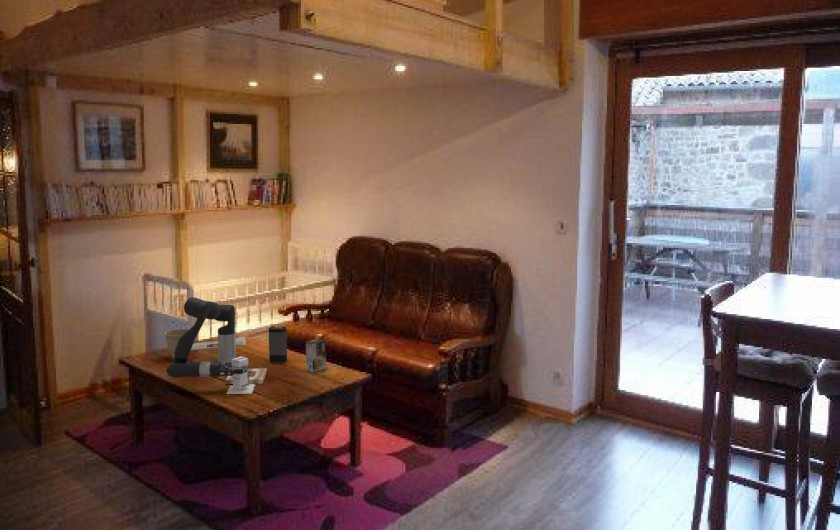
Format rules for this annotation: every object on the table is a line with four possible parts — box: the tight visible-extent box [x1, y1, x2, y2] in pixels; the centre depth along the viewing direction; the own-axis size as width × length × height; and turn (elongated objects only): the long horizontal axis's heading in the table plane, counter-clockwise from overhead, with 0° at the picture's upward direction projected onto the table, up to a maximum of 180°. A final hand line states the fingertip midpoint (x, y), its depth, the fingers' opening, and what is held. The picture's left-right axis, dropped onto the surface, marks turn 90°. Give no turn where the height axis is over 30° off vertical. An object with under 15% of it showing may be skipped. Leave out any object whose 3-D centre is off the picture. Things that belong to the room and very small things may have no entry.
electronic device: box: [268, 325, 288, 364], centre depth 373 cm, size 9×6×20 cm, turn 84°
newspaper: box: [190, 335, 247, 352], centre depth 406 cm, size 35×12×4 cm, turn 114°
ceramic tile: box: [225, 384, 256, 395], centre depth 328 cm, size 12×12×1 cm
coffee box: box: [305, 338, 327, 373], centre depth 361 cm, size 9×6×16 cm
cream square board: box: [225, 367, 268, 385], centre depth 346 cm, size 18×18×2 cm
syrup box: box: [232, 356, 250, 389], centre depth 327 cm, size 6×6×14 cm
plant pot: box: [164, 328, 190, 360], centre depth 377 cm, size 15×15×16 cm
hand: (244, 368), depth 327 cm, fingers closed on syrup box, 7 cm apart
